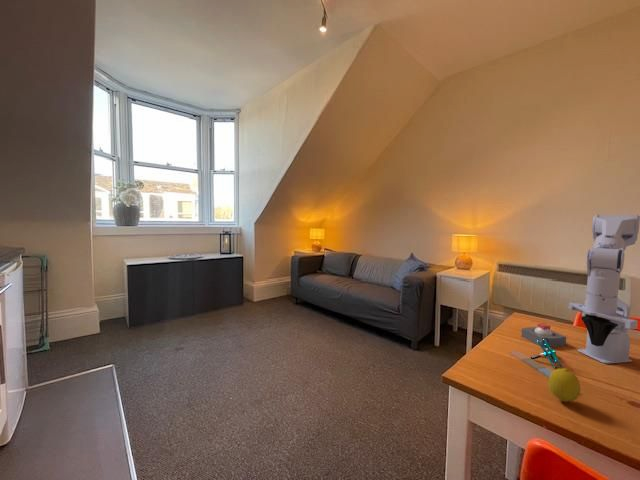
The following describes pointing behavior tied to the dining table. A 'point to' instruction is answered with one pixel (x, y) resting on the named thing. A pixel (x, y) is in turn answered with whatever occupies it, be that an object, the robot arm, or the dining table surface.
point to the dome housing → (543, 337)
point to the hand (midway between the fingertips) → (597, 344)
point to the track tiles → (531, 363)
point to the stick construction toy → (547, 354)
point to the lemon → (564, 385)
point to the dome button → (543, 329)
